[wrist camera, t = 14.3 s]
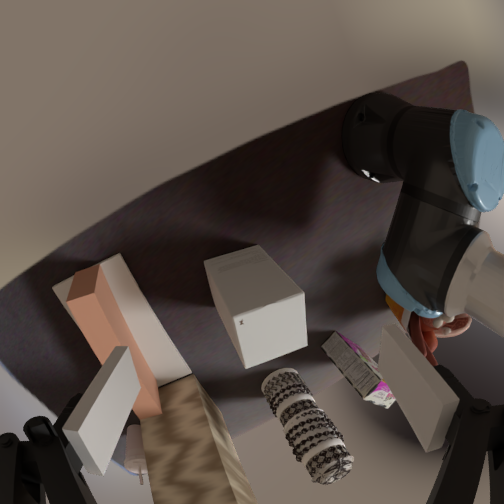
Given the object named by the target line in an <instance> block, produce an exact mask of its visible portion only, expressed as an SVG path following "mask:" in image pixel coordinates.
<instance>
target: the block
mask: <svg viewBox="0 0 504 504" xmlns="http://www.w3.org/2000/svg"><path fill="white" fill-rule="evenodd" d="M66 303H67V305H68V307H69V309H70V311H71V312H72V314H73V316H74V318H75V320H76V322H77V324H78V325H79V327H80V329H81V331H82V332H83V334H84V336H85V338H86V339H87V341H88V343H89V344H90V346H91V348H92V349H93V351H94V353H95V354H96V356H97V358H98V359H99V361H100V362H101V364H102V366H103V364H104V363H105V361H106V360H107V358H108V357H109V355H110V354H111V352H112V351H113V349H114V348H115V346H129V350H130V353H131V357H132V360H133V364H134V367H135V370H136V373H137V377H138V380H139V383H140V386H141V389H140V391H139V393H138V396H137V398H136V400H135V402H134V405H133V407H132V410H133V411H134V412H135V414H136V415H137V416H138V418H139V419H140V420H141V419H145V418H149V417H152V416H156V415H160V414H162V409H161V403H160V398H159V392H158V386H157V380H156V378H155V376H154V375H153V373H152V371H151V369H150V367H149V366H148V364H147V362H146V360H145V358H144V356H143V355H142V353H141V351H140V349H139V347H138V345H137V343H136V341H135V339H134V337H133V335H132V333H131V331H130V329H129V327H128V325H127V323H126V321H125V319H124V317H123V315H122V313H121V311H120V309H119V307H118V304H117V302H116V300H115V298H114V296H113V293H112V291H111V289H110V287H109V284H108V282H107V280H106V278H105V275H104V273H103V270H102V268H101V266H100V264H98V265H95V266H92V267H90V268H87V269H84V270H81V271H78V272H75V275H74V278H73V281H72V284H71V287H70V290H69V294H68V297H67V300H66Z"/></svg>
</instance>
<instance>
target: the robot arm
mask: <svg viewBox="0 0 504 504" xmlns="http://www.w3.org/2000/svg"><path fill="white" fill-rule="evenodd" d="M342 144H343V150H344V153H345V156H346V159H347V161H348V163H349V165H350V166H351V167H352V169H353V170H354V171H355V172H356V173H357V174H358V175H360V176H361V177H363V178H365V179H368V180H371V181H374V182H378V183H388V182H397V181H403V185H402V189H401V192H400V195H399V199H398V202H397V205H396V209H395V212H394V215H393V218H392V221H391V225H390V228H389V231H388V234H387V237H386V240H385V242H384V243H383V244H382V247H381V255H380V258H379V262H378V265H377V269H376V273H377V279H378V282H379V284H380V286H381V287H382V289H383V290H384V291H385V293H386V294H387V295H388V296H389V297H390V298H391V299H393V300H394V301H395V302H396V303H397V304H399V305H400V306H402V307H403V308H405V309H406V310H408V311H410V312H412V311H414V312H415V313H416V314H417V315H419V316H422V317H425V318H436V317H439V316H440V315H441V314H445V315H447V316H449V317H453V316H456V315H459V314H462V313H466V314H468V315H469V316H471V317H473V318H474V319H476V320H477V321H479V322H480V323H482V324H483V325H485V326H486V327H488V328H490V329H491V330H493V331H494V332H496V333H497V334H499V335H500V336H502V337H503V338H504V254H502V253H500V252H498V251H496V250H495V249H494V247H493V244H492V241H491V239H490V236H489V234H488V233H487V232H485V231H483V230H481V229H479V228H477V225H478V222H479V218H480V215H481V212H486V211H487V212H489V211H491V210H493V209H494V208H496V206H497V205H498V201H499V200H501V199H502V196H503V194H504V141H503V138H502V135H501V133H500V131H499V130H498V128H497V127H496V125H495V124H494V123H493V122H492V121H491V120H490V119H488V118H487V117H485V116H482V115H478V114H473V113H469V112H468V111H466V110H452V109H444V108H435V107H425V106H414V105H412V104H410V103H408V102H406V101H404V100H402V99H400V98H399V97H397V96H394V95H392V94H388V93H369V94H366V95H364V96H362V97H360V98H359V99H357V100H356V101H355V102H354V103H353V105H352V106H351V107H350V109H349V111H348V112H347V115H346V117H345V120H344V124H343V129H342ZM378 370H379V372H380V374H381V375H382V377H383V379H384V380H385V382H386V384H387V385H388V387H389V389H390V390H391V392H392V394H393V396H394V397H395V399H396V401H397V402H398V404H399V406H400V408H401V409H402V411H403V413H404V414H405V416H406V418H407V420H408V421H409V423H410V425H411V426H412V428H413V430H414V432H415V434H416V436H417V437H418V439H419V441H420V443H421V444H422V446H423V448H424V450H425V452H426V453H427V452H429V451H432V450H435V449H438V448H441V447H442V445H443V443H444V440H445V438H446V439H447V441H448V443H449V446H448V448H447V451H446V453H445V455H444V457H443V459H442V460H443V463H442V465H441V468H440V471H439V474H438V476H437V479H436V481H435V484H434V486H433V489H432V491H431V493H430V496H429V498H428V500H427V503H426V504H473V502H474V499H475V495H476V492H477V488H478V485H479V481H480V476H481V472H482V469H483V464H484V460H485V455H486V451H488V461H489V476H490V504H504V405H496V406H491V404H490V403H489V402H488V401H486V400H483V399H476V398H475V399H474V398H473V397H472V395H471V394H470V393H469V392H468V391H467V390H466V389H465V387H464V386H463V385H462V384H461V383H460V382H459V381H458V379H457V378H456V377H454V375H453V374H452V373H451V371H450V370H449V369H447V368H445V367H444V366H442V365H436V366H432V365H431V364H430V363H429V361H428V360H427V359H426V358H425V357H424V356H423V354H422V353H421V352H420V351H419V350H418V349H417V347H416V346H415V345H414V344H413V343H412V342H411V341H410V339H409V338H408V337H407V336H406V335H405V334H404V332H403V331H402V330H401V329H400V328H399V327H398V326H397V325H396V324H390V325H384V326H382V337H381V346H380V355H379V364H378ZM140 389H141V386H140V383H139V380H138V377H137V373H136V370H135V367H134V364H133V360H132V357H131V353H130V350H129V346H115V348H114V349H113V351H112V352H111V354H110V355H109V357H108V358H107V360H106V361H105V363H104V364H103V366H102V367H101V369H100V370H99V372H98V373H97V375H96V376H95V378H94V379H93V381H92V382H91V384H90V385H89V387H88V388H87V390H86V391H85V393H84V394H80V393H78V394H77V395H75V396H74V397H73V398H72V399H70V401H69V402H68V404H67V405H66V408H64V410H63V411H62V413H61V414H60V416H59V417H58V419H57V420H56V422H55V424H54V425H52V424H51V422H50V420H49V419H48V418H47V417H45V416H37V417H33V418H31V419H29V420H28V421H27V422H26V423H25V425H24V427H23V431H24V432H25V434H26V436H27V437H28V439H29V441H20V440H19V439H18V437H17V436H16V435H15V434H14V433H4V434H2V435H0V504H46V496H45V491H46V494H47V497H48V500H49V503H50V504H97V503H96V501H95V499H94V497H93V495H92V493H91V491H90V489H89V487H88V485H87V483H86V481H85V479H84V477H83V475H82V473H81V472H80V470H81V468H82V466H84V467H85V469H86V470H87V472H88V473H91V474H96V475H102V476H104V474H105V471H106V469H107V466H108V464H109V461H110V459H111V457H112V454H113V452H114V449H115V447H116V445H117V442H118V440H119V437H120V435H121V433H122V430H123V428H124V426H125V423H126V421H127V419H128V416H129V414H130V412H131V409H132V407H133V405H134V402H135V400H136V398H137V396H138V393H139V391H140Z"/></svg>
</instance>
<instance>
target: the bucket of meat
mask: <svg viewBox="0 0 504 504" xmlns="http://www.w3.org/2000/svg"><path fill="white" fill-rule="evenodd" d="M386 302H387V304H388V306H389V307H390V309H391V311H392V312H393V314H394V315H395V316H396V318H397V319H398V321H399V322H400V324H401V325H402V326H403V328H404V329H405V331H406V332H407V334H408V335H409V337H410V339H411V340H412V343H413V344H414V345H415V346H416V347H417V349H418V350H419V351H420V352H421V353H422V354H423V356H424V357H425V358H426V359H427V360H428V361H429V363H430V364H431V365H432V366H436V365H438V363H437V361H436V359H435V358H434V356H433V354H432V352H434V350H435V349H436V347H437V344H438V341H437V339H436V337H442V338H444V337H453V336H456V335H459V334H461V333H463V332H464V331H466V330H467V329H468V328H469V326H470V324H471V321H472V319H471V317H470V316H469V315H468V314H466V313H462V314H459V315H456V316H453V317H449V316H447V315H445V314H441V315H440V316H439V317H436V318H425V317H422V316H419V315H417V314H416V313H415V312H414V311H412V312H410V311H408V310H406V309H405V308H403V307H402V306H400V305H399V304H397V303H396V302H395V301H394V300H393V299H391V298H390V297H389V296H388V295H387V294H386Z"/></svg>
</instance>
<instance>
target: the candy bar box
mask: <svg viewBox="0 0 504 504" xmlns="http://www.w3.org/2000/svg"><path fill="white" fill-rule="evenodd" d="M321 348H322V350H323V351H324V352H325V353H326V354H327V356H328V357H329V358H330V359H331V361H332V362H333V363H334V364H335V365H336V367H337V368H338V369H339V370H340V371H341V373H342V374H343V375H344V376H345V378H346V379H347V380H348V381H349V383H350V384H351V385H352V386H353V387H354V388H355V389H356V391H357V392H358V393H359V395H360V396H361V397H362V398H363V399H364V400H366V401H369V402H371V403H374V404H376V405H379V406H381V407H384V408H389V407H390V406H391V405H392V404H393V403H394V402H395V401H396V399H395V397H394V396H393V394H392V392H391V390H390V389H389V387H388V385H387V384H386V382H385V380H384V379H383V377H382V375H381V374H380V372H379V370H378V365H377V364H376V363H375V362H374V361H373V360H372V358H371V357H370V356H369V355H368V354H367V353H366V352H365V351H364V350H363V349H362V348H361V347H360V346H358V345H357V344H355V343H353V342H352V341H350V340H349V339H347V338H346V337H344V336H343V335H341V334H340V333H338V332H337V331H335V332H333V334H332V335H331V336H330V337H329V338H328V339H327V340H326V341H325V342H324V343H323V345H322V346H321Z"/></svg>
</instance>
